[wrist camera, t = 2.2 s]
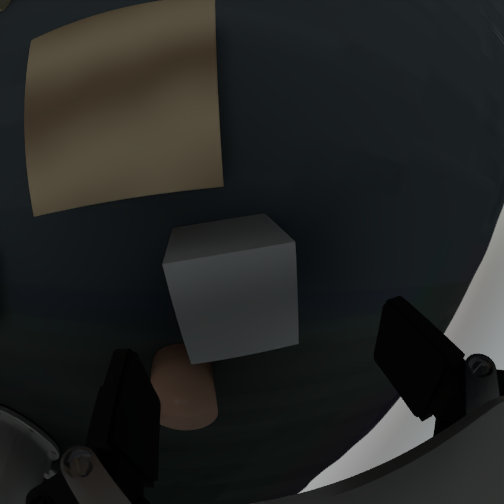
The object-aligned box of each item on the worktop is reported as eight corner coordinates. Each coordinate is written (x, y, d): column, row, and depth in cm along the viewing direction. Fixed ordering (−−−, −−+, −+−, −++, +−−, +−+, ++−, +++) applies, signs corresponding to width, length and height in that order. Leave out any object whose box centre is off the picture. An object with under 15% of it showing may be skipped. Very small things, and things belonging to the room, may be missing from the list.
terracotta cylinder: (216, 381, 22) (223, 425, 18) (162, 388, 22) (160, 432, 17) (205, 339, 21) (209, 385, 16) (144, 347, 20) (136, 393, 15)
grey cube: (271, 293, 20) (298, 343, 15) (190, 307, 19) (191, 364, 14) (264, 213, 18) (295, 241, 13) (172, 227, 17) (162, 264, 12)
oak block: (216, 177, 17) (223, 186, 12) (70, 199, 15) (34, 216, 11) (209, 32, 13) (214, -4, 9) (65, 61, 12) (31, 40, 7)
